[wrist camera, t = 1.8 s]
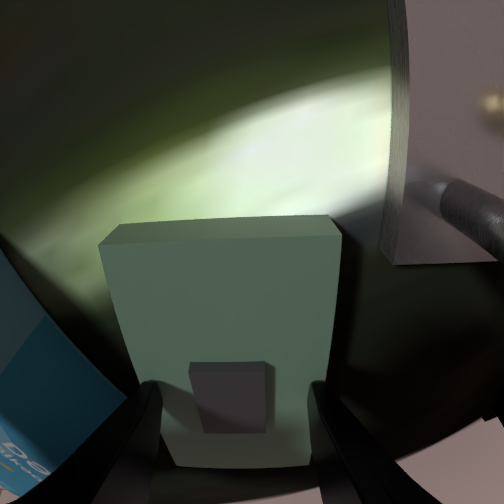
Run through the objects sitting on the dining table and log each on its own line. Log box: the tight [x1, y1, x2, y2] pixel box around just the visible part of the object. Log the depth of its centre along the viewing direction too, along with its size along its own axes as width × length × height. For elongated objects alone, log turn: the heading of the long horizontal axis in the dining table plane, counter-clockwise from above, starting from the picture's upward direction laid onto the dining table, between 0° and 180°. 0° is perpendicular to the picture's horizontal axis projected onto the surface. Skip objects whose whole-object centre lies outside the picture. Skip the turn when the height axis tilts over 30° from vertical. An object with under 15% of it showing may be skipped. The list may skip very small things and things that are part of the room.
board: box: [98, 215, 342, 468], centre depth 10 cm, size 6×10×3 cm, turn 2°
